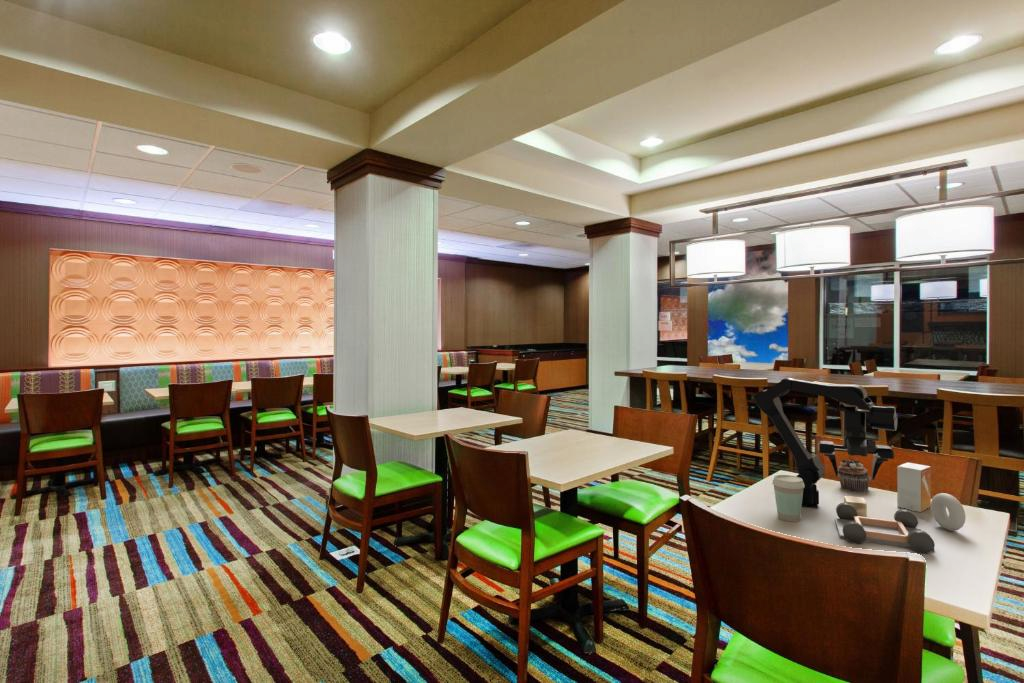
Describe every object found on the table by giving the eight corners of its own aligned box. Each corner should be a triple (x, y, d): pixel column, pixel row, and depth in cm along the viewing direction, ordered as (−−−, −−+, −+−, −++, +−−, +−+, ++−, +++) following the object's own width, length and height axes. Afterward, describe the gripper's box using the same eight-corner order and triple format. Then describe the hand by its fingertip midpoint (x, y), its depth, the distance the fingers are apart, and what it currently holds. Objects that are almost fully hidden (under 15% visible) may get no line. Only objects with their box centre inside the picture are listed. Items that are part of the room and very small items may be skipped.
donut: (927, 522, 146) (927, 488, 146) (940, 522, 146) (939, 488, 146) (955, 536, 136) (955, 499, 136) (969, 536, 136) (969, 499, 136)
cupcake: (861, 494, 172) (861, 465, 172) (832, 487, 180) (831, 459, 180) (876, 489, 177) (876, 461, 176) (847, 482, 185) (846, 455, 185)
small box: (921, 512, 154) (921, 470, 154) (896, 507, 159) (896, 465, 159) (931, 507, 158) (931, 465, 158) (907, 502, 164) (906, 461, 164)
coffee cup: (801, 514, 155) (801, 475, 154) (808, 524, 147) (807, 483, 146) (770, 511, 157) (770, 473, 157) (775, 521, 149) (774, 481, 149)
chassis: (841, 541, 134) (841, 522, 134) (834, 517, 151) (833, 501, 151) (937, 555, 125) (937, 535, 125) (918, 528, 142) (918, 510, 142)
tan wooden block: (846, 516, 153) (846, 501, 153) (844, 510, 158) (844, 495, 158) (866, 518, 150) (866, 503, 150) (863, 512, 156) (863, 497, 156)
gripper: (820, 429, 151) (820, 481, 151) (898, 433, 142) (898, 489, 143) (817, 422, 161) (818, 471, 161) (890, 427, 152) (890, 478, 153)
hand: (854, 477), depth 154 cm, fingers open, 9 cm apart
